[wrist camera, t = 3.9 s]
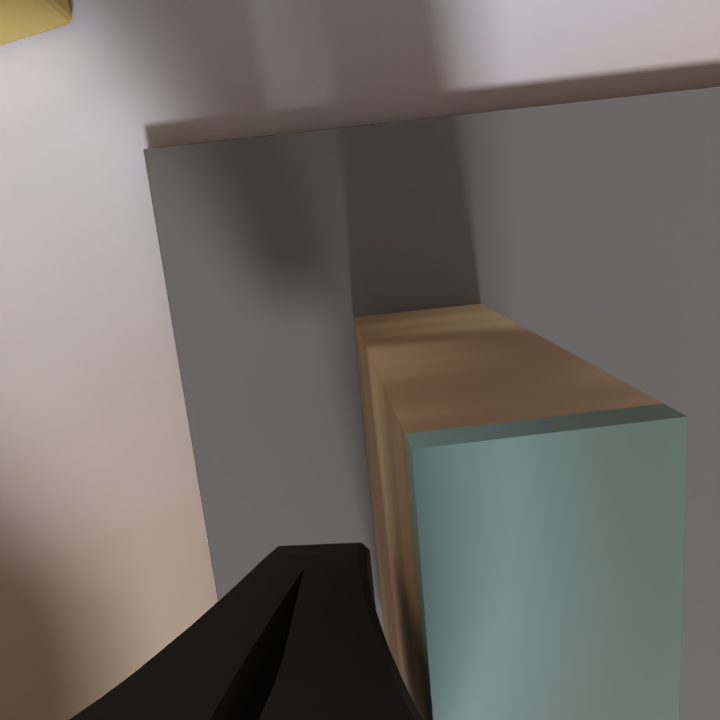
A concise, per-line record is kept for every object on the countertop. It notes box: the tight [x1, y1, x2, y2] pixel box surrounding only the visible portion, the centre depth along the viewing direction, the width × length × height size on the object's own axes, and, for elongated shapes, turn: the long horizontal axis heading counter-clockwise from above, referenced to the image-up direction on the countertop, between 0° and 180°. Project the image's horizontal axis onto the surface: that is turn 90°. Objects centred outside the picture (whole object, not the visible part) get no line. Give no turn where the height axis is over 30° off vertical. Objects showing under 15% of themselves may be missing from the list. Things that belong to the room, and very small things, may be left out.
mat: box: [143, 87, 720, 720], centre depth 13 cm, size 16×14×1 cm
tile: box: [354, 304, 687, 720], centre depth 10 cm, size 2×7×7 cm, turn 5°
